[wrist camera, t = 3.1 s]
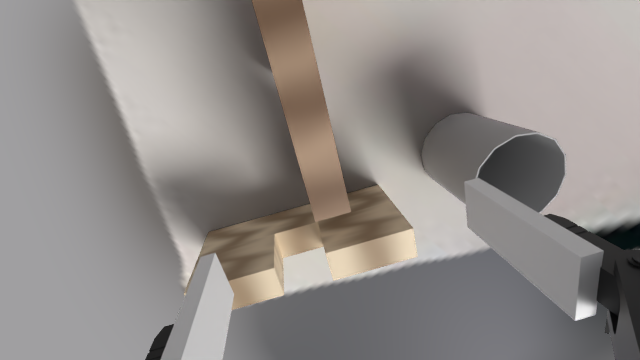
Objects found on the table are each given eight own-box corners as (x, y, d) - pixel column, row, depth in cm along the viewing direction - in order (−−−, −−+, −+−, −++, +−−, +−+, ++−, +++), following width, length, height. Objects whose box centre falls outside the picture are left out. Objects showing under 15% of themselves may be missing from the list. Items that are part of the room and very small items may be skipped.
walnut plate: (331, 170, 34) (351, 211, 25) (305, 178, 34) (315, 221, 25) (286, -14, 28) (290, -50, 18) (253, -5, 28) (240, -37, 18)
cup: (437, 196, 37) (490, 241, 28) (409, 140, 34) (458, 169, 25) (501, 158, 37) (576, 192, 27) (477, 97, 34) (553, 112, 24)
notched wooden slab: (218, 253, 36) (197, 319, 27) (208, 232, 35) (183, 293, 26) (382, 207, 37) (417, 256, 28) (378, 184, 36) (413, 228, 27)
